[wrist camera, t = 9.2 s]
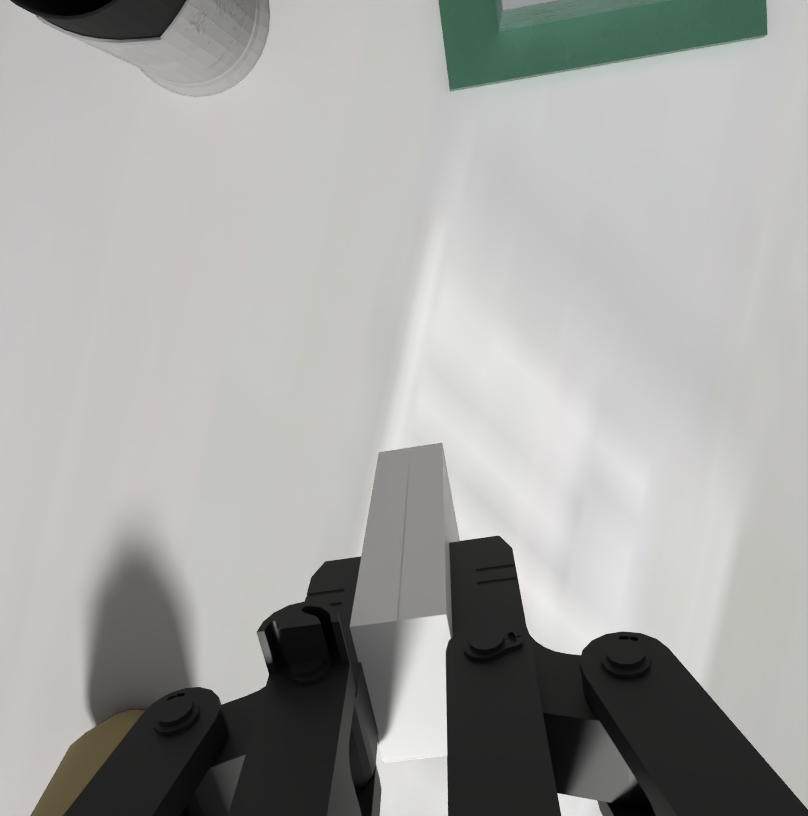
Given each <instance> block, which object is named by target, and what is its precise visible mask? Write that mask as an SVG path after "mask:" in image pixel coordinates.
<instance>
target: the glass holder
mask: <svg viewBox="0 0 808 816" xmlns="http://www.w3.org/2000/svg"><path fill="white" fill-rule="evenodd" d="M11 1H12V2H13V3H15V4H16V5H18V6H20V7H21V8H23V9H25V10H27V11H29V12H31V13H33V14H35V15H36V16H37V18H38V19H40V20H41V21H42V22H43V23H45V24H47V25H49V26H50V27H52V28H54V29H57V30H59V31H61V32H63V33H65V34H67V35H69V36H71V37H74V38H76V39H78V40H80V41H82V42H84V43H87V44H89V45H91V46H93V47H95V48H97V49H99V50H102V51H104V52H106V53H108V54H110V55H112V56H115V57H117V58H119V59H121V60H123V61H125V62H128V63H130V64H132V65H134V66H136V67H138V68H140V69H141V71H142V72H143V73H144V74H145V75H146V76H147V77H148V78H150V79H151V80H152V81H154V82H155V83H156V84H158V85H159V86H161V87H163V88H165V89H167V90H169V91H171V92H174V93H177V94H180V95H185V96H193V97H200V96H210V95H214V94H218V93H221V92H223V91H225V90H227V89H229V88H231V87H233V86H235V85H236V84H237V83H239V82H240V81H241V80H243V79H244V78H245V77H246V75H247V74H248V73H249V72H250V71H251V70H252V69H253V67H254V66H255V64H256V63H257V61H258V59H259V58H260V56H261V53H262V51H263V49H264V46H265V44H266V39H267V35H268V31H269V19H270V12H269V1H268V0H11Z"/></svg>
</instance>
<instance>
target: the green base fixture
mask: <svg viewBox="0 0 808 816" xmlns="http://www.w3.org/2000/svg"><path fill="white" fill-rule="evenodd" d="M439 7H440V15H441V23H442V31H443V39H444V46H445V54H446V62H447V70H448V78H449V86H450V91H455V90H460V89H466V88H472V87H478V86H484V85H489V84H495V83H501V82H507V81H513V80H518V79H524V78H530V77H536V76H541V75H547V74H553V73H559V72H565V71H570V70H576V69H582V68H588V67H594V66H599V65H605V64H611V63H617V62H623V61H628V60H634V59H640V58H646V57H652V56H657V55H663V54H669V53H675V52H681V51H686V50H692V49H698V48H704V47H710V46H715V45H721V44H727V43H733V42H739V41H744V40H750V39H756V38H762V37H764V36H766V35H767V12H766V0H439Z"/></svg>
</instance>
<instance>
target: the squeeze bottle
mask: <svg viewBox="0 0 808 816" xmlns="http://www.w3.org/2000/svg"><path fill="white" fill-rule="evenodd" d="M144 712H145V710H135V709H131V710H127V711H124V712H120V713H117V714H115V715H114V716H112V717H111V718H109V719H107V720H106V721H104V722H103V723H101V724H99V725H98V726H96V727H94V728H93V729H91V730H90V731H88V732H86V733H85V734H84V735H83V736H81V737H80V738H79V739H78V740H77V741H75V742H74V743H73V744H72V745H71V746H70V747H69V749H68V751H67V752H66V754H65V756H64V758H63V760H62V761H61V763H60V765H59V767H58V768H57V770H56V772H55V774H54V775H53V777H52V779H51V781H50V782H49V784H48V786H47V788H46V790H45V791H44V793H43V795H42V797H41V798H40V800H39V802H38V804H37V805H36V807H35V809H34V811H33V812H32V814H31V816H63V815H64V814H65V812H66V811H67V810H68V808H69V807H70V806H71V805H72V803H73V802H74V801H75V799H76V798H77V797H78V796H79V794H80V793H81V792H82V790H83V789H84V788H85V787H86V785H87V784H88V783H89V781H90V780H91V779H92V778H93V776H94V775H95V774H96V772H97V771H98V770H99V769H100V767H101V766H102V765H103V763H104V762H105V761H106V760H107V758H108V757H109V756H110V754H111V753H112V752H113V751H114V749H115V748H116V747H117V745H118V744H119V743H120V742H121V740H122V739H123V738H124V736H125V735H126V734H127V733H128V731H129V730H130V729H131V727H132V726H133V725H134V724H135V722H136V721H137V720H138V719H139V717H140V716H141V715H142V714H143V713H144Z"/></svg>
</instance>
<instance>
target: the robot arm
mask: <svg viewBox="0 0 808 816" xmlns="http://www.w3.org/2000/svg"><path fill="white" fill-rule="evenodd" d="M257 635H258V638H259V641H260V645H261V648H262V652H263V655H264V658H265V662H266V665H267V668H268V672H269V677H268V681H267V684H266V686H265V687H264V688H262V689H261V690H259V691H257V692H254V693H252V694H250V695H247V696H245V697H242V698H239V699H236V700H234V701H231V702H228V703H225V704H222V705H221V703H220V699H219V697H218V696H217V695H216V694H215V693H214V692H213V691H212V690H209V689H205V688H201V687H195V688H185V689H181V690H179V691H176V692H173V693H170V694H168V695H166V696H164V697H163V698H161V699H159V700H158V701H156V702H154V703H153V704H152V705H151V706H150V707H149V708H148V709H147V710H146V711H145V712H144V713H143V714H142V715H141V716H140V717H139V719H138V720H137V721H136V722H135V724H134V725H133V726H132V727H131V729H130V730H129V731H128V733H127V734H126V735H125V736H124V738H123V739H122V740H121V742H120V743H119V744H118V745H117V747H116V748H115V749H114V751H113V752H112V753H111V754H110V756H109V757H108V758H107V760H106V761H105V762H104V763H103V765H102V766H101V767H100V769H99V770H98V771H97V772H96V774H95V775H94V776H93V778H92V779H91V780H90V781H89V783H88V784H87V785H86V787H85V788H84V789H83V790H82V792H81V793H80V794H79V796H78V797H77V798H76V799H75V801H74V802H73V803H72V805H71V806H70V807H69V808H68V810H67V811H66V812H65V814H64V815H63V816H379V814H380V801H381V785H380V779H379V774H378V770H377V766H376V753H377V742H378V744H379V748H380V752H381V756H382V760H383V763H387V762H396V761H405V760H414V759H423V758H432V757H441V756H447V767H448V816H561V812H560V807H559V801H558V795H557V793H561V794H566V795H571V796H577V797H582V798H588V799H593V800H597V801H598V804H599V808H600V811H601V813H602V815H603V816H808V809H807V808H806V807H805V806H804V805H803V804H802V802H801V801H800V800H799V799H798V798H797V797H796V795H795V794H794V793H793V792H792V791H791V790H790V788H789V787H788V786H787V785H786V784H785V783H784V781H783V780H782V779H781V778H780V777H779V776H778V775H777V773H776V772H775V771H774V770H773V769H772V768H771V766H770V765H769V764H768V763H767V762H766V761H765V759H764V758H763V757H762V756H761V755H760V754H759V753H758V751H757V750H756V749H755V748H754V747H753V746H752V744H751V743H750V742H749V741H748V740H747V739H746V737H745V736H744V735H743V734H742V733H741V732H740V731H739V729H738V728H737V727H736V726H735V725H734V724H733V722H732V721H731V720H730V719H729V718H728V717H727V715H726V714H725V713H724V712H723V711H722V710H721V709H720V707H719V706H718V705H717V704H716V703H715V702H714V700H713V699H712V698H711V697H710V696H709V695H708V693H707V692H706V691H705V690H704V689H703V688H702V687H701V685H700V684H699V683H698V682H697V681H696V680H695V678H694V677H693V676H692V675H691V674H690V673H689V671H688V670H687V669H686V668H685V667H684V666H683V665H682V663H681V662H680V661H679V660H678V659H677V658H676V656H675V655H674V654H673V653H672V652H671V651H670V649H669V648H667V647H666V646H665V645H664V644H662V643H661V642H660V641H658V640H657V639H655V638H652V637H650V636H647V635H644V634H641V633H632V632H617V633H611V634H605V635H603V636H601V637H599V638H597V639H594V640H592V641H591V642H590V643H589V644H588V645H587V646H586V647H585V648H584V649H583V651H582V655H572V654H565V653H560V652H555V651H553V650H550V649H547V648H545V647H543V646H542V645H540V644H539V643H537V642H536V641H535V640H534V639H533V638H532V637H531V636H530V634H529V632H528V629H527V627H526V622H525V616H524V611H523V605H522V600H521V594H520V589H519V583H518V578H517V572H516V567H515V561H514V556H513V550H512V547H510V546H509V545H508V544H507V543H506V542H505V541H504V540H503V539H502V538H501V537H500V536H493V537H486V538H479V539H472V540H464V541H460V540H459V534H458V529H457V523H456V518H455V512H454V506H453V501H452V495H451V489H450V484H449V478H448V473H447V467H446V461H445V456H444V450H443V445H442V443H438V444H431V445H425V446H418V447H412V448H405V449H398V450H392V451H385V452H379V455H378V461H377V467H376V473H375V479H374V485H373V490H372V496H371V502H370V508H369V514H368V520H367V526H366V532H365V538H364V544H363V550H362V556H361V557H355V558H348V559H341V560H333V561H326V562H325V563H324V564H323V565H322V566H321V567H320V568H319V569H318V570H317V572H316V573H315V574H314V575H313V576H312V577H311V581H310V584H309V588H308V592H307V597H306V599H305V602H301V603H297V604H293V605H289V606H287V607H285V608H283V609H281V610H279V611H277V612H274V613H273V614H272V615H271V616H270V617H268V618H267V619H266V620H265V621H263V623H262V624H261V626H260V628H259V629H258V631H257Z"/></svg>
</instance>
